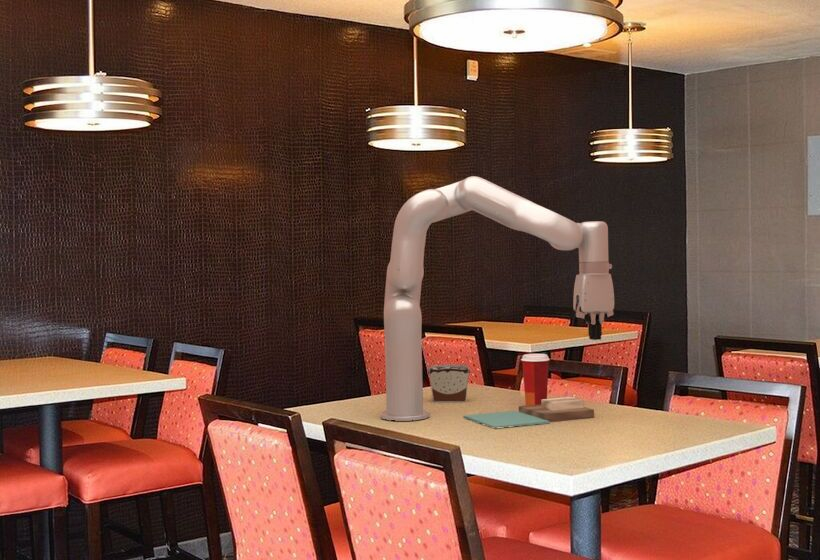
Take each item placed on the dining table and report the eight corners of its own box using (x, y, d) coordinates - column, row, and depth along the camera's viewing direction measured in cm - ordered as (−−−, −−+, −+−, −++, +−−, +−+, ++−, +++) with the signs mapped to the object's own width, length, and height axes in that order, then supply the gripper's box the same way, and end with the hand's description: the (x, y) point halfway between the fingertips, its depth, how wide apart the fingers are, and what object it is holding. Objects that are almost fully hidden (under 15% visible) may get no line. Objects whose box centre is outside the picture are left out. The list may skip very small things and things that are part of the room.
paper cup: (552, 404, 285) (551, 353, 285) (548, 408, 278) (547, 356, 277) (523, 403, 287) (522, 353, 287) (519, 408, 280) (518, 356, 279)
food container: (473, 398, 298) (472, 364, 298) (471, 402, 292) (470, 366, 292) (430, 398, 300) (429, 364, 300) (427, 402, 294) (427, 367, 294)
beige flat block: (541, 407, 268) (541, 399, 268) (571, 404, 272) (571, 396, 272) (553, 410, 263) (553, 402, 263) (583, 407, 266) (583, 399, 266)
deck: (518, 414, 271) (518, 406, 270) (565, 409, 276) (565, 402, 276) (545, 422, 258) (545, 414, 257) (594, 417, 263) (594, 409, 263)
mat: (463, 417, 267) (463, 415, 267) (515, 412, 272) (515, 410, 272) (495, 429, 250) (494, 426, 250) (549, 423, 256) (549, 421, 256)
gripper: (610, 267, 276) (611, 336, 277) (561, 269, 270) (562, 339, 271) (626, 268, 269) (627, 338, 270) (576, 270, 263) (577, 342, 264)
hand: (595, 339), depth 270 cm, fingers closed
